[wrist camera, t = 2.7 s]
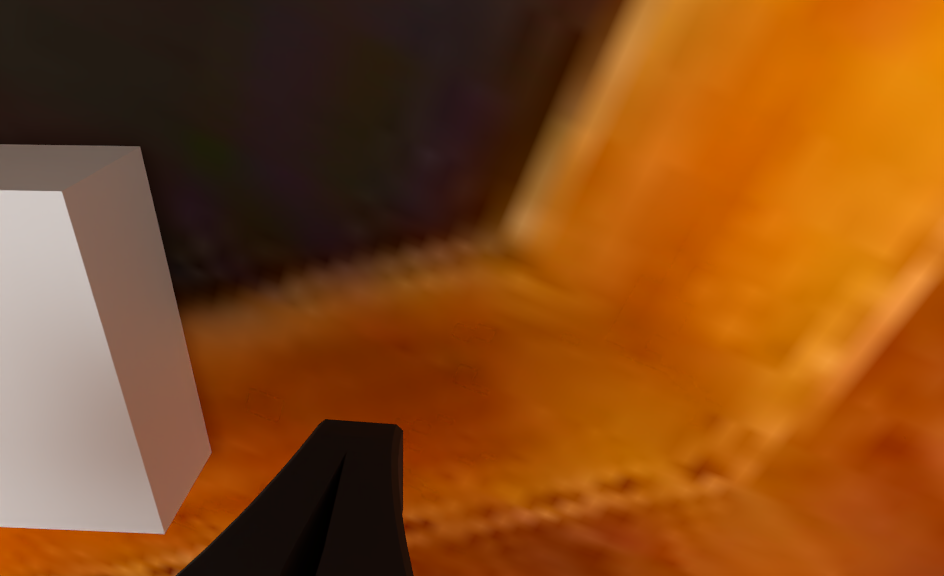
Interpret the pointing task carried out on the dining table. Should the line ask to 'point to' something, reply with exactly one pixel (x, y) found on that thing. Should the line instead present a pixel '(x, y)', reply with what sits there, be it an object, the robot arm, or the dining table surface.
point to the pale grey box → (90, 348)
